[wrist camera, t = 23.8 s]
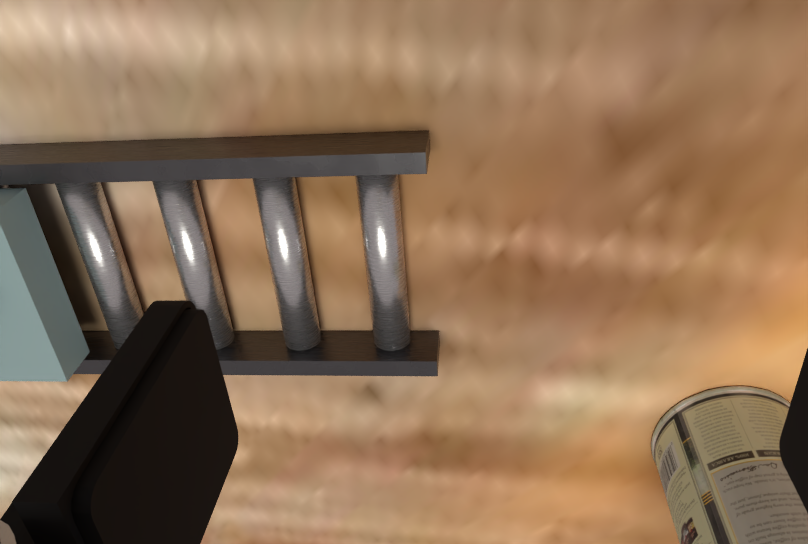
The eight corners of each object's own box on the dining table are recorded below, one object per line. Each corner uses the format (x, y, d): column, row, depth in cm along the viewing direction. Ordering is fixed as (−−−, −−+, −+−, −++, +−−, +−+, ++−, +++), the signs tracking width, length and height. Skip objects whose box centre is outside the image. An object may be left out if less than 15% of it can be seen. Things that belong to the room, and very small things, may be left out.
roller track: (-181, 151, 43) (-253, 184, 38) (428, 130, 38) (423, 166, 34) (-75, 344, 51) (-125, 390, 46) (439, 345, 46) (436, 395, 42)
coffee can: (813, 470, 49) (920, 669, 38) (668, 500, 52) (724, 693, 40) (792, 366, 45) (907, 556, 33) (634, 405, 48) (687, 592, 36)
